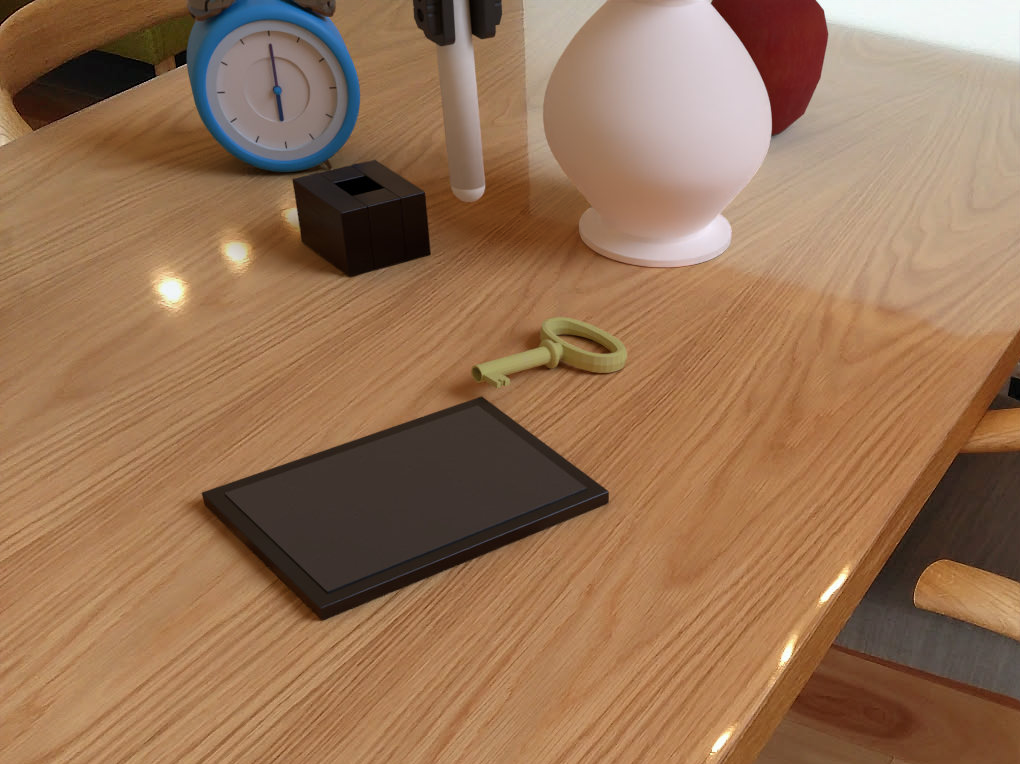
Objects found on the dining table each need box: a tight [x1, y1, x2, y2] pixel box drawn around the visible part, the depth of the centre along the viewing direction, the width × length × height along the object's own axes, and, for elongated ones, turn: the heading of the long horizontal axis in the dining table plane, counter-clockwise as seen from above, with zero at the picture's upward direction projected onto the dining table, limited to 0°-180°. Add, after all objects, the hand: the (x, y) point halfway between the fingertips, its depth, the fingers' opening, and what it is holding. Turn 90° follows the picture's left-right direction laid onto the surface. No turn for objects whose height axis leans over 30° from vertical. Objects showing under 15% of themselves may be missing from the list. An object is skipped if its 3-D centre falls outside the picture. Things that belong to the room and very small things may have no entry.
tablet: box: [201, 396, 610, 621], centre depth 89 cm, size 20×14×1 cm
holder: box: [291, 159, 432, 278], centre depth 112 cm, size 7×7×5 cm
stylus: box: [435, 0, 486, 203], centre depth 81 cm, size 2×2×14 cm
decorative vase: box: [542, 0, 772, 268], centre depth 111 cm, size 18×18×25 cm
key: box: [470, 316, 628, 389], centre depth 101 cm, size 7×12×2 cm, turn 155°
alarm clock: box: [185, 0, 361, 176], centre depth 119 cm, size 13×6×15 cm, turn 110°
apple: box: [710, 0, 829, 136], centre depth 133 cm, size 12×12×13 cm
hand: (459, 36), depth 79 cm, fingers closed on stylus, 2 cm apart
